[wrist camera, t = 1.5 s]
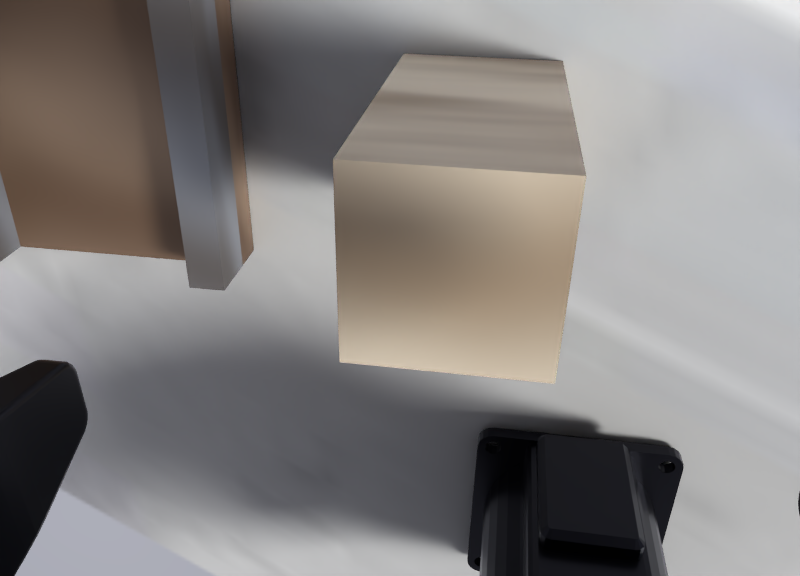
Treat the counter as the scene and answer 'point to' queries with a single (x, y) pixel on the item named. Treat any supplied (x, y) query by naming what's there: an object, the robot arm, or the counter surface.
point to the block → (459, 218)
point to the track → (124, 132)
